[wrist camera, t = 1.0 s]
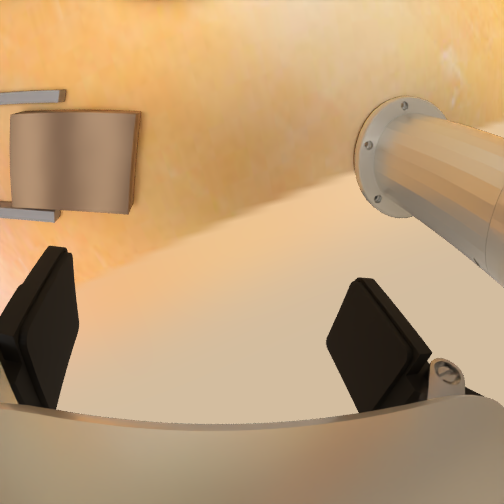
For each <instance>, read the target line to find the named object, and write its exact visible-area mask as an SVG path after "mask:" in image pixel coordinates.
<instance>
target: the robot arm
mask: <svg viewBox="0 0 504 504" xmlns="http://www.w3.org/2000/svg"><path fill="white" fill-rule="evenodd" d="M365 143H366V145H365ZM354 161H355V173H356V178H357V182H358V184H359V187H360V190H361V192H362V193H363V195H364V196H365V198H366V200H368V201H369V203H370V204H372V206H373V207H375V208H376V209H377V210H379V211H380V212H382V213H384V214H386V215H388V216H391V217H395V218H408V217H412V216H414V217H415V218H417V219H418V220H420V221H421V222H423V223H424V224H425V225H427V226H428V227H429V228H431V229H432V230H433V231H435V232H436V233H437V234H439V235H440V236H441V237H443V238H444V239H445V240H447V241H448V242H449V243H450V244H452V245H453V246H454V247H456V248H457V249H458V250H459V251H461V252H462V253H463V254H464V255H466V256H467V257H468V258H469V259H470V260H472V261H473V262H474V263H475V264H477V265H478V266H479V267H480V268H481V269H482V270H484V271H485V272H486V273H487V274H489V275H490V276H491V277H492V278H493V279H495V280H496V281H497V282H498V283H499V284H500V285H501V286H503V287H504V138H502V137H499V136H497V135H494V134H491V133H488V132H485V131H482V130H479V129H475V128H472V127H469V126H466V125H462V124H459V123H455V122H451V121H448V120H447V119H446V117H445V116H444V114H443V113H442V112H441V111H440V110H439V109H438V108H437V107H436V106H435V105H434V104H432V103H431V102H429V101H427V100H424V99H421V98H418V97H411V96H401V97H397V98H393V99H390V100H388V101H386V102H385V103H383V104H381V105H380V106H379V107H378V108H376V109H375V110H374V111H373V112H372V113H371V115H370V116H369V117H368V119H367V120H366V121H365V123H364V125H363V127H362V129H361V131H360V134H359V137H358V140H357V143H356V149H355V156H354ZM78 329H79V318H78V310H77V302H76V292H75V282H74V270H73V257H72V254H71V253H68V252H67V249H66V248H64V247H56V246H49V247H48V248H47V249H46V250H45V252H44V253H43V255H42V256H41V257H40V259H39V260H38V262H37V263H36V265H35V266H34V267H33V269H32V270H31V272H30V273H29V275H28V276H27V278H26V279H25V281H24V282H23V284H21V285H20V286H19V287H18V288H17V290H16V291H15V293H14V295H13V296H12V298H11V299H10V301H9V303H8V304H7V306H6V307H5V309H4V311H3V312H2V314H1V316H0V504H504V407H503V406H502V405H501V404H500V403H498V402H497V401H495V400H493V399H490V398H487V397H484V396H482V395H480V394H478V393H476V392H474V391H472V390H470V389H468V388H466V387H465V380H464V375H463V374H462V372H461V370H460V369H459V368H458V367H457V366H456V365H455V364H454V363H452V362H450V361H448V360H446V359H443V358H436V359H434V360H433V361H431V363H430V364H429V363H428V362H427V360H428V358H429V357H430V355H431V354H432V352H431V350H430V349H429V348H428V346H427V345H426V344H425V342H424V341H423V340H422V338H421V337H420V336H419V335H418V333H417V332H416V331H415V329H414V328H413V327H412V326H411V325H410V323H409V322H408V321H407V319H406V318H405V317H404V316H403V314H402V313H401V312H400V311H399V309H398V308H397V307H396V306H395V304H394V303H393V302H392V301H391V299H390V298H389V297H388V296H387V295H386V293H385V292H384V291H383V290H382V289H381V287H380V286H379V285H378V284H377V283H376V281H375V280H374V279H371V278H357V279H356V280H355V281H353V282H352V283H351V285H350V286H349V289H348V291H347V294H346V296H345V298H344V301H343V303H342V305H341V308H340V310H339V312H338V314H337V317H336V319H335V321H334V323H333V326H332V328H331V330H330V332H329V335H328V337H327V340H326V345H327V348H328V350H329V352H330V354H331V356H332V359H333V360H334V362H335V365H336V367H337V369H338V371H339V373H340V375H341V377H342V379H343V381H344V383H345V385H346V387H347V389H348V391H349V393H350V395H351V398H352V399H353V401H354V404H355V406H356V408H357V410H358V412H359V413H357V414H350V415H343V416H335V417H328V418H319V419H310V420H300V421H289V422H273V423H253V424H182V423H180V424H179V423H162V422H147V421H135V420H127V419H117V418H109V417H100V416H92V415H85V414H79V413H73V412H67V411H61V410H56V407H57V403H58V399H59V395H60V391H61V387H62V383H63V380H64V376H65V373H66V369H67V366H68V362H69V359H70V355H71V352H72V349H73V346H74V343H75V340H76V337H77V333H78Z"/></svg>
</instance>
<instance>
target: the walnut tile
mask: <svg viewBox="0 0 504 504" xmlns="http://www.w3.org/2000/svg"><path fill="white" fill-rule="evenodd" d="M140 117H141V112H140V111H120V110H39V111H24V112H19V113H15V114H12V115H11V117H10V176H11V193H12V205H13V207H16V208H36V209H54V210H70V211H86V212H100V213H115V214H129V212H130V209H131V207H132V205H133V196H134V180H135V166H136V155H137V144H138V134H139V125H140Z"/></svg>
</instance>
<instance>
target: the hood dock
mask: <svg viewBox="0 0 504 504" xmlns="http://www.w3.org/2000/svg"><path fill="white" fill-rule="evenodd" d="M65 94H66V90H37V91H19V92H6V93H0V105H2V104H18V103H48V102H64V101H65ZM59 217H60V210H54V209H36V208H16V207H13V205H12V202H2V201H0V218H10V219H21V220H32V221H43V222H54V223H55V221H56V220H57V219H58V218H59Z"/></svg>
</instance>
